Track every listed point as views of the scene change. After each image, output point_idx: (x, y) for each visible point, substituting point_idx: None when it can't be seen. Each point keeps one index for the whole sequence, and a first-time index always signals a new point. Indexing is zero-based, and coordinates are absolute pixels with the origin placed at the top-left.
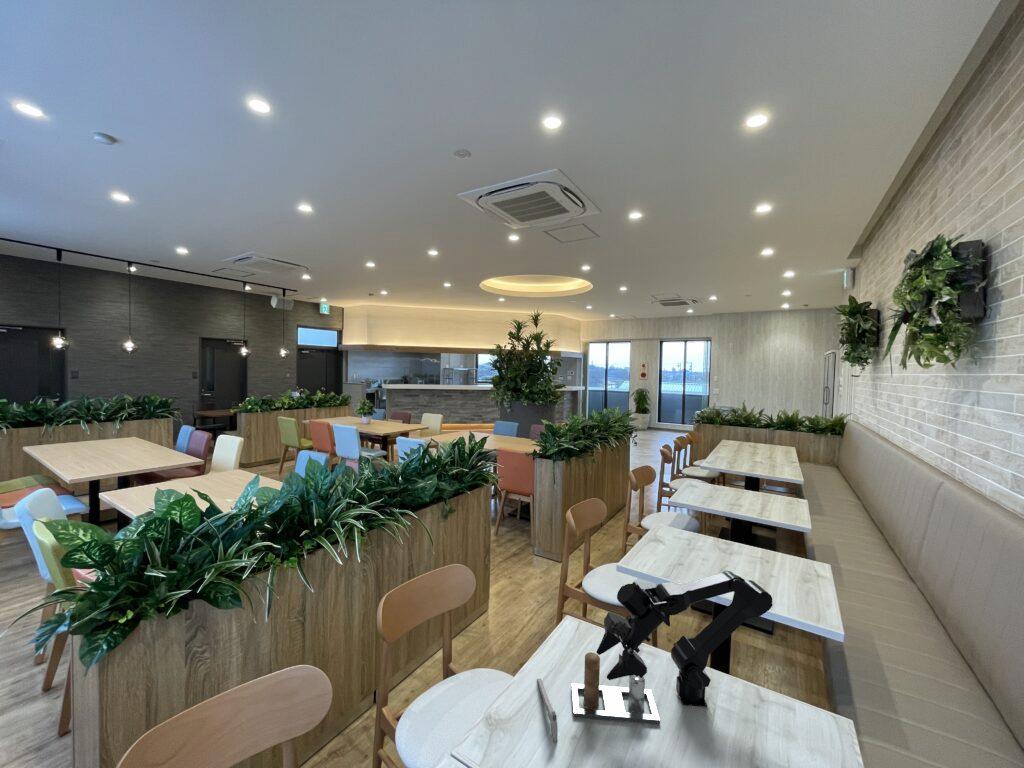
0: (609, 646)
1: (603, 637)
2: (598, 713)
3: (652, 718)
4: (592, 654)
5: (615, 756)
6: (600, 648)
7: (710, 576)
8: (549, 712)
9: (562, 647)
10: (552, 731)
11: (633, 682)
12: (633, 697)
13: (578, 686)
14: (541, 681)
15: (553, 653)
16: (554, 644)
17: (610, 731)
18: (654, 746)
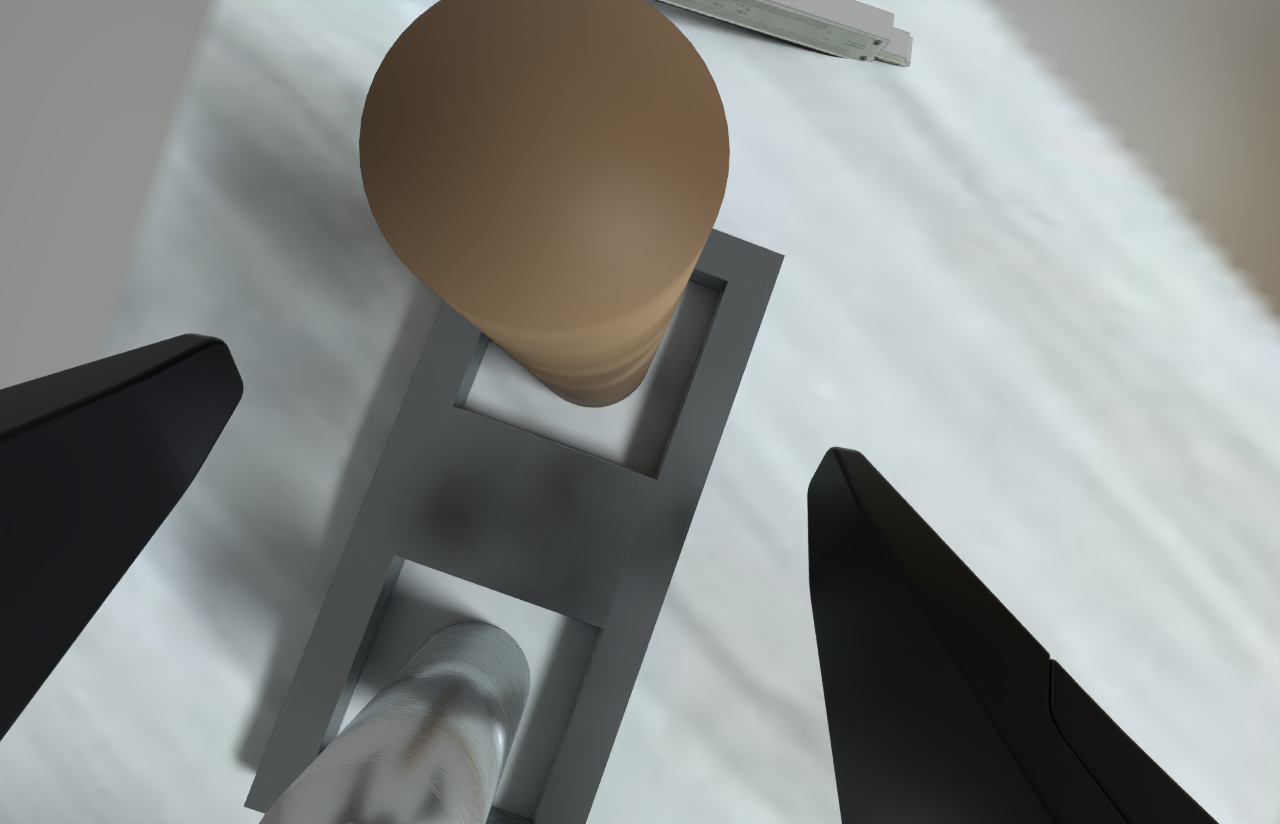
0: (859, 772)
1: (1127, 757)
2: (444, 335)
3: (277, 750)
4: (652, 202)
5: (135, 314)
6: (859, 531)
7: None
8: None
9: (1206, 372)
10: None
11: (303, 784)
12: (385, 688)
13: (739, 296)
14: (856, 22)
15: (1152, 270)
16: (1253, 319)
17: (325, 375)
18: (118, 629)
